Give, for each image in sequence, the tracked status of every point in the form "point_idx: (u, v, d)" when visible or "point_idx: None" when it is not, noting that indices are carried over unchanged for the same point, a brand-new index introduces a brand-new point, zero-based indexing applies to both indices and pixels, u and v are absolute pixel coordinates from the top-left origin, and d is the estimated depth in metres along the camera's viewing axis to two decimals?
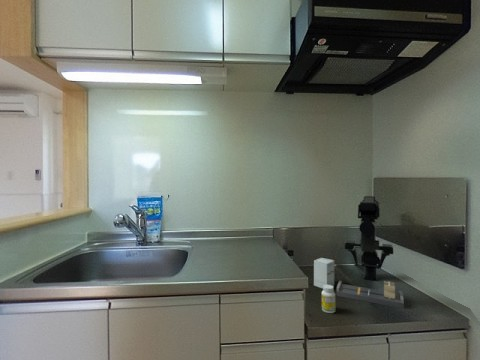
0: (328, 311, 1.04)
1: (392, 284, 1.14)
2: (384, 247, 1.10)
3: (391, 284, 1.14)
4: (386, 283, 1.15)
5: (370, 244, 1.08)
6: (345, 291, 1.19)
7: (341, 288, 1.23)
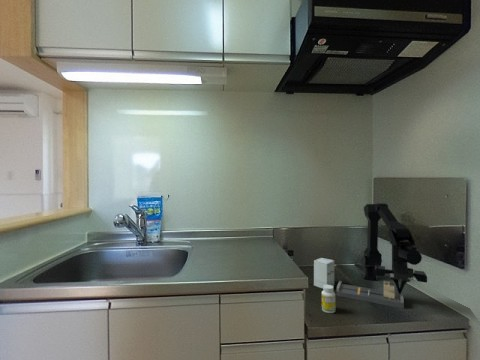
0: (328, 311, 1.04)
1: (392, 284, 1.14)
2: (417, 275, 1.07)
3: (391, 284, 1.14)
4: (386, 283, 1.15)
5: (404, 272, 1.05)
6: (345, 291, 1.19)
7: (341, 288, 1.23)
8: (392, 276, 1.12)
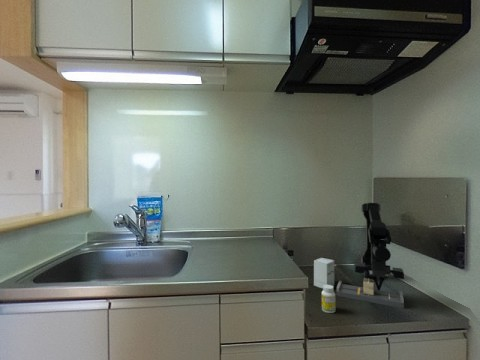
0: (328, 311, 1.04)
1: (371, 281, 1.18)
2: (395, 272, 1.11)
3: (370, 281, 1.18)
4: (365, 280, 1.19)
5: (381, 269, 1.09)
6: (345, 291, 1.19)
7: (341, 288, 1.23)
8: (371, 273, 1.16)
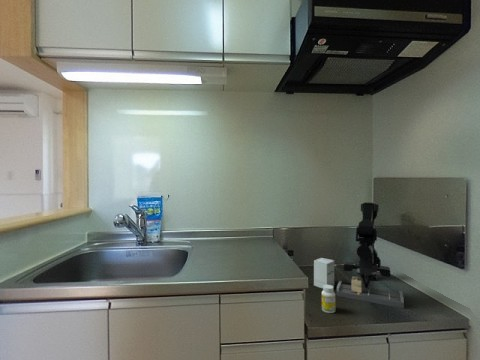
0: (328, 311, 1.04)
1: (359, 279, 1.20)
2: (381, 270, 1.13)
3: (358, 279, 1.20)
4: (354, 278, 1.21)
5: (368, 267, 1.11)
6: (345, 291, 1.19)
7: (341, 288, 1.23)
8: (359, 271, 1.18)
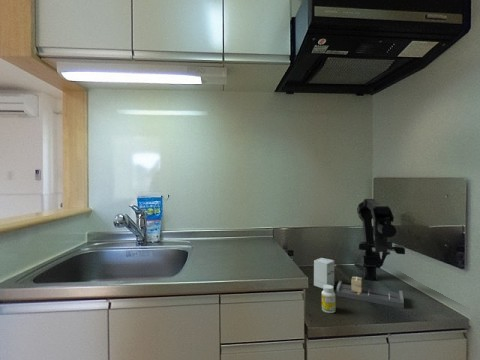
0: (328, 311, 1.04)
1: (359, 279, 1.20)
2: (396, 248, 1.18)
3: (358, 279, 1.20)
4: (354, 278, 1.21)
5: (383, 245, 1.16)
6: (345, 291, 1.19)
7: (341, 288, 1.23)
8: (374, 250, 1.23)
